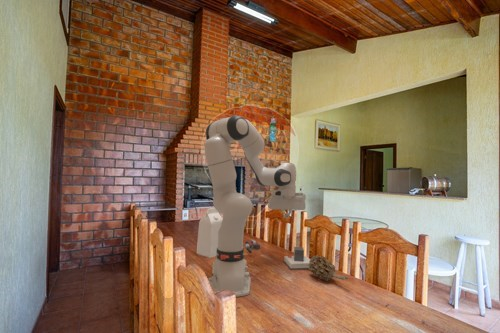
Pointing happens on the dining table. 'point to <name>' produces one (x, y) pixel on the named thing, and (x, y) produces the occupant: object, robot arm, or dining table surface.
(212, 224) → the milk
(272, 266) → the dining table surface
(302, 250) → the plug
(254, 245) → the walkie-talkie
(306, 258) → the socket
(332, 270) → the pine cone
